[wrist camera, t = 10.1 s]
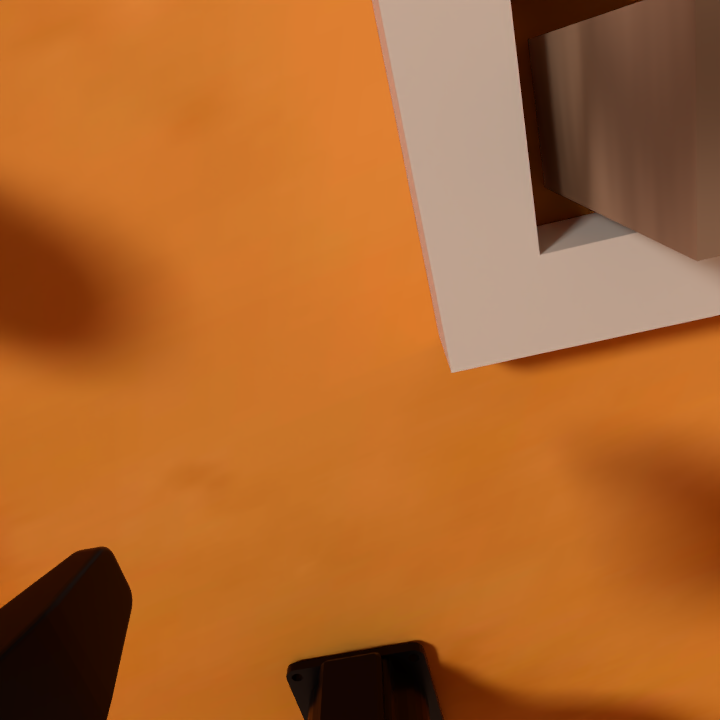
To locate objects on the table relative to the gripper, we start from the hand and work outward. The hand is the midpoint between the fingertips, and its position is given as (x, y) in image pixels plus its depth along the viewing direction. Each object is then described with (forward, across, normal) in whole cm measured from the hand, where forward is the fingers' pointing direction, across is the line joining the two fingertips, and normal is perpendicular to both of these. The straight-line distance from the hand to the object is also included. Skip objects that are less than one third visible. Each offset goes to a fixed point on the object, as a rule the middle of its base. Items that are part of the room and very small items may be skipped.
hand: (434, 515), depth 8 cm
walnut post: (+12, -7, -4) cm, 15 cm away
